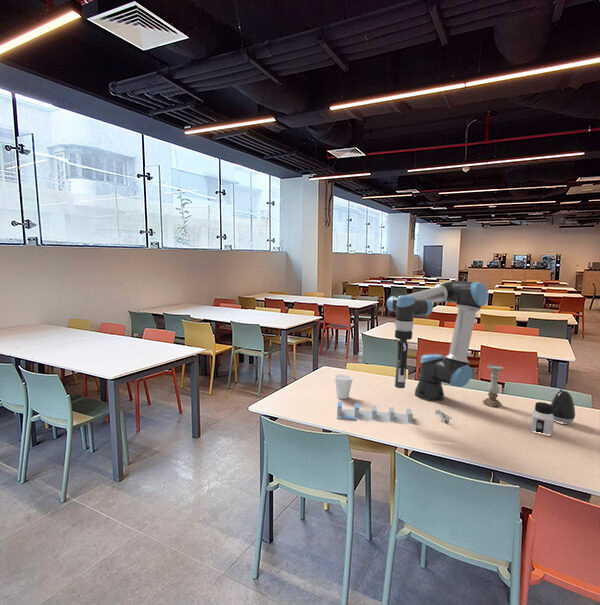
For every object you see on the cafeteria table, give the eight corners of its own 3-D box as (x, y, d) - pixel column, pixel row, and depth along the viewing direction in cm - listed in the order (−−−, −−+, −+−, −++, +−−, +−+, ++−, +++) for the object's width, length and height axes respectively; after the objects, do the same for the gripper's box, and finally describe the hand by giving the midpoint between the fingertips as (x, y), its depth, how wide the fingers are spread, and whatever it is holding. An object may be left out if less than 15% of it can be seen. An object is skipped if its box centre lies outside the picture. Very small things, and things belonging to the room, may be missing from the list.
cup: (353, 401, 197) (354, 380, 196) (334, 400, 198) (335, 379, 196) (351, 394, 207) (352, 374, 206) (332, 393, 207) (333, 374, 206)
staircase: (434, 421, 176) (435, 410, 176) (441, 420, 178) (442, 409, 177) (445, 427, 171) (445, 415, 170) (451, 426, 172) (452, 414, 172)
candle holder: (497, 408, 194) (501, 370, 192) (479, 403, 201) (483, 366, 198) (504, 404, 200) (507, 367, 198) (487, 399, 206) (490, 363, 204)
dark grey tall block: (404, 385, 177) (405, 360, 175) (405, 388, 172) (407, 362, 171) (394, 384, 177) (396, 359, 176) (395, 387, 173) (397, 362, 171)
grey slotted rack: (409, 415, 181) (410, 405, 181) (413, 425, 170) (413, 414, 170) (337, 409, 185) (338, 399, 185) (336, 418, 175) (337, 408, 174)
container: (551, 437, 163) (555, 408, 162) (530, 432, 167) (534, 404, 166) (551, 431, 170) (554, 403, 168) (531, 426, 174) (534, 399, 172)
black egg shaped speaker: (569, 419, 183) (573, 389, 182) (577, 428, 174) (581, 396, 172) (545, 416, 187) (548, 386, 185) (551, 424, 177) (555, 392, 175)
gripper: (393, 326, 181) (389, 373, 183) (397, 332, 164) (394, 385, 166) (409, 327, 180) (405, 375, 182) (415, 333, 163) (411, 386, 165)
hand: (400, 379), depth 174 cm, fingers closed on dark grey tall block, 4 cm apart
